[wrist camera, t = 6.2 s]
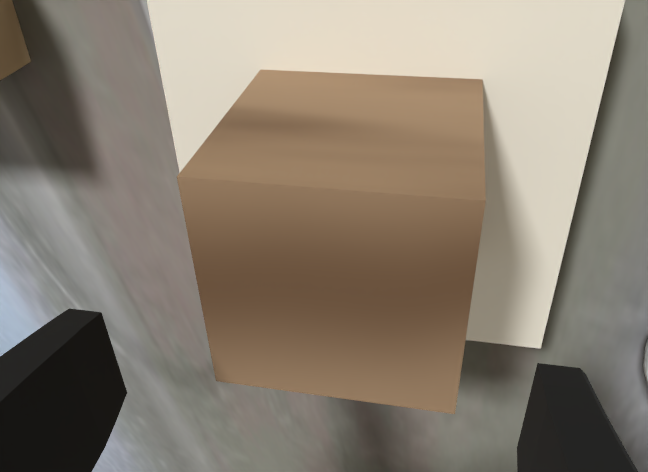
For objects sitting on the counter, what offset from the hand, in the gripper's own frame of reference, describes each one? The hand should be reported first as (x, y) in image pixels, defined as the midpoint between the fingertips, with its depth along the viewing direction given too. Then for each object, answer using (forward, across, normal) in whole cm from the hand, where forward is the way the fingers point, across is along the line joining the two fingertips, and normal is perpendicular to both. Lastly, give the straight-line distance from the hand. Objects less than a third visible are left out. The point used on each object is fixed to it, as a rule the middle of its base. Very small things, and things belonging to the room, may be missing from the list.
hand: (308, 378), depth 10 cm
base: (+8, 0, 0) cm, 9 cm away
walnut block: (+6, 0, 0) cm, 7 cm away
